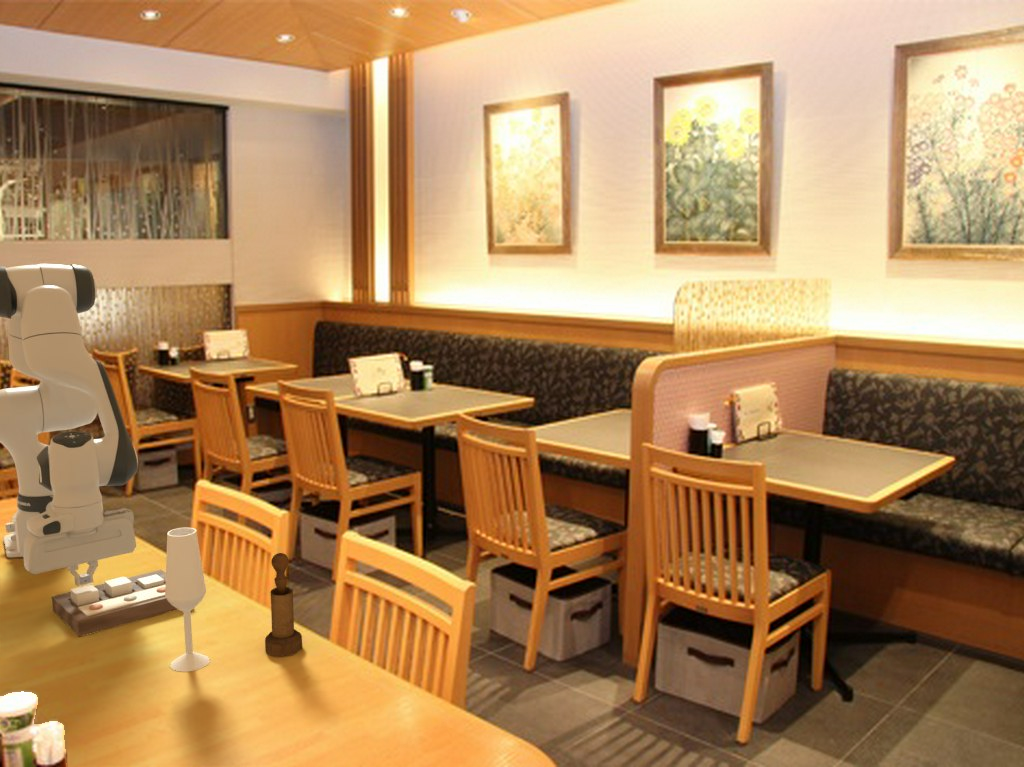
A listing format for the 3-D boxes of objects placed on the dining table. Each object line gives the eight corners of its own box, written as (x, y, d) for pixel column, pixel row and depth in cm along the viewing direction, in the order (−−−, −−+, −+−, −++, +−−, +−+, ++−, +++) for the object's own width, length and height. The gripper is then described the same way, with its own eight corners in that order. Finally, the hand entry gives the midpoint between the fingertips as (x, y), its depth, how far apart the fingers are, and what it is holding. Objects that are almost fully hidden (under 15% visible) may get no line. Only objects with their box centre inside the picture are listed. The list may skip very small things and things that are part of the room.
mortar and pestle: (297, 657, 170) (293, 560, 167) (261, 657, 171) (256, 560, 168) (305, 641, 177) (302, 547, 174) (271, 640, 177) (266, 547, 174)
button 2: (138, 592, 198) (137, 579, 197) (157, 587, 200) (156, 574, 200) (145, 598, 195) (144, 584, 194) (165, 593, 197) (164, 579, 197)
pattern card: (78, 608, 184) (78, 606, 184) (170, 584, 196) (169, 582, 196) (87, 616, 181) (86, 614, 181) (180, 591, 192) (179, 589, 192)
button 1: (71, 603, 189) (70, 589, 188) (92, 598, 192) (91, 584, 191) (78, 610, 186) (77, 595, 186) (99, 604, 189) (98, 590, 188)
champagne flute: (196, 650, 173) (188, 523, 169) (217, 661, 169) (210, 531, 165) (162, 664, 168) (153, 532, 164) (183, 675, 164) (175, 541, 160)
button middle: (105, 595, 193) (104, 581, 193) (125, 590, 196) (124, 576, 195) (112, 601, 190) (111, 586, 190) (132, 595, 193) (131, 581, 192)
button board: (52, 610, 191) (51, 596, 190) (161, 582, 205) (160, 569, 205) (79, 636, 179) (78, 621, 178) (193, 605, 193) (192, 591, 193)
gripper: (126, 502, 195) (131, 566, 197) (17, 523, 181) (24, 592, 184) (138, 508, 190) (143, 575, 192) (27, 530, 177) (33, 602, 179)
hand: (84, 583), depth 188 cm, fingers closed
